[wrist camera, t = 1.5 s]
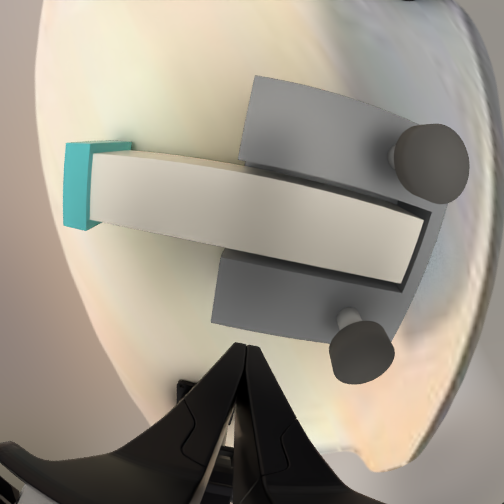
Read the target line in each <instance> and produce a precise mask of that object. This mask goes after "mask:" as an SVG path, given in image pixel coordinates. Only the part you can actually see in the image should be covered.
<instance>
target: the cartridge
mask: <svg viewBox="0 0 504 504" xmlns="http://www.w3.org/2000/svg"><path fill="white" fill-rule="evenodd" d="M131 145H132V142H127V141H111V140H108V141H86V142H71V143H66V150H65V162H64V181H63V224H64V226H67V227H72V228H76V229H80V230H84V231H87V230H89V229H91V228H92V227H94V226H96V225H98V224H100V223H102V222H104V223H109V224H113V225H118V226H123V227H128V228H133V229H138V230H142V231H147V232H152V233H157V234H162V235H167V236H171V237H176V238H181V239H186V240H191V241H196V242H200V243H205V244H210V245H215V246H220V247H225V248H230V249H234V250H239V251H244V252H249V253H254V254H259V255H264V256H269V257H273V258H278V259H283V260H288V261H293V262H298V263H303V264H308V265H312V266H317V267H322V268H327V269H332V270H337V271H342V272H347V273H352V274H356V275H361V276H366V277H371V278H376V279H381V280H386V281H391V282H396V283H401V282H402V280H403V277H404V275H405V272H406V270H407V267H408V264H409V262H410V259H411V256H412V254H413V251H414V248H415V245H416V243H417V240H418V237H419V234H420V231H421V228H422V224H423V221H424V220H423V219H421V218H419V217H417V216H416V215H414V214H412V213H410V212H408V211H406V210H405V209H403V208H401V207H399V206H397V205H395V204H393V203H391V202H387V201H384V200H381V199H378V198H374V197H371V196H368V195H364V194H361V193H357V192H354V191H350V190H347V189H343V188H339V187H336V186H332V185H328V184H324V183H320V182H316V181H312V180H308V179H304V178H300V177H295V176H291V175H286V174H282V173H277V172H273V171H268V170H263V169H258V168H253V167H248V166H242V165H237V164H231V163H225V162H219V161H213V160H207V159H200V158H194V157H187V156H179V155H171V154H163V153H154V152H145V151H135V150H131Z"/></svg>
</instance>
